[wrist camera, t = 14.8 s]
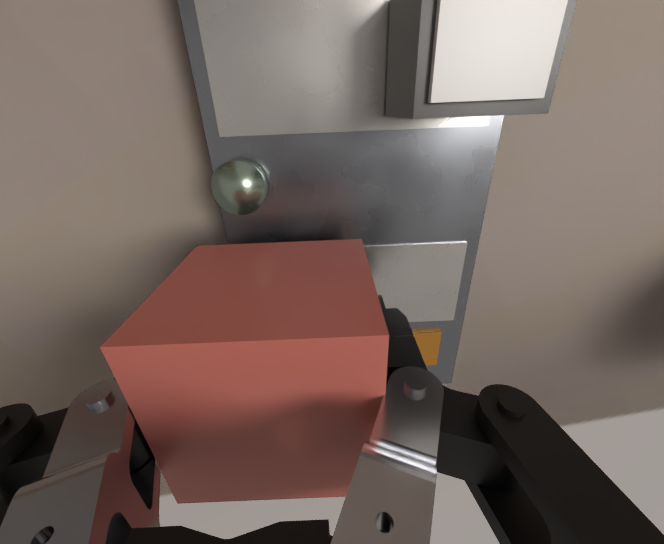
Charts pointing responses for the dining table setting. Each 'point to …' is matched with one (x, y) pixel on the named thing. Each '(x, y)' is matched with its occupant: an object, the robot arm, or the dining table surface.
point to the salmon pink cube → (257, 369)
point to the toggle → (474, 56)
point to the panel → (340, 152)
